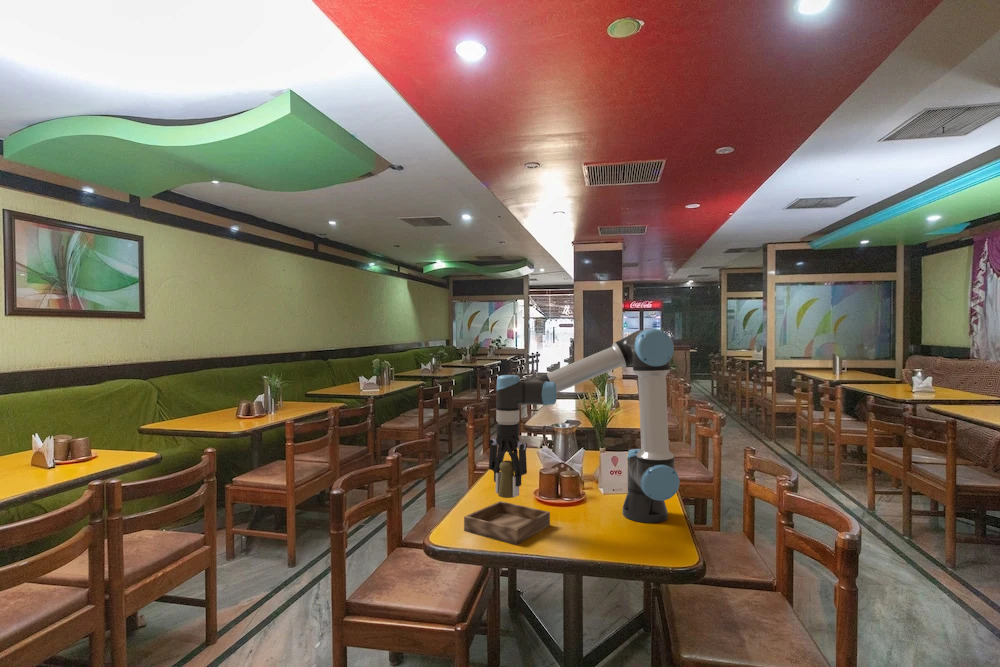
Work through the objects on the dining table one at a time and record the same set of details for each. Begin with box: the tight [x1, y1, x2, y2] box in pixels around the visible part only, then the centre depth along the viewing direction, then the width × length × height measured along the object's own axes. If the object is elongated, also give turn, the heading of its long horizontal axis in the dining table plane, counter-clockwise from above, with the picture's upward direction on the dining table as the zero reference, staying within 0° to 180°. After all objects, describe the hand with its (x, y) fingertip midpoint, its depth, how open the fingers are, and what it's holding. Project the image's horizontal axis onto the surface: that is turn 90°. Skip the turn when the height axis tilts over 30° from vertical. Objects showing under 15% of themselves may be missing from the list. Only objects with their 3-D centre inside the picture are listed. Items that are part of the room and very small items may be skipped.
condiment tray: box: [463, 500, 551, 546], centre depth 166 cm, size 20×20×4 cm
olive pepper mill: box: [497, 460, 515, 499], centre depth 166 cm, size 6×6×11 cm
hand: (507, 494), depth 166 cm, fingers closed on olive pepper mill, 6 cm apart
